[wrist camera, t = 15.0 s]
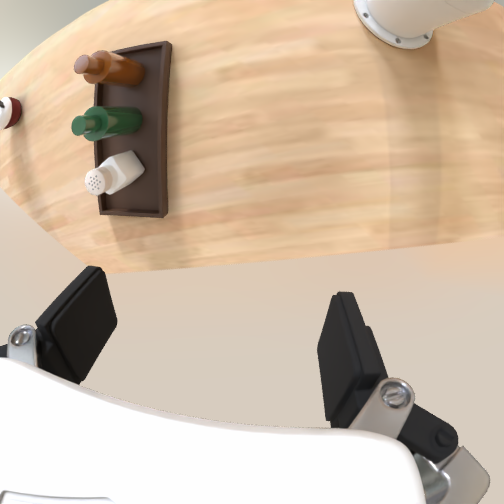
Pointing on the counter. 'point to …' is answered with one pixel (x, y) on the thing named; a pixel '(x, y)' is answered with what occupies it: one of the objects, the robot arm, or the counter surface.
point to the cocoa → (9, 112)
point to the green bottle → (107, 122)
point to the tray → (140, 134)
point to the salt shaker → (114, 174)
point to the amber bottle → (110, 69)
